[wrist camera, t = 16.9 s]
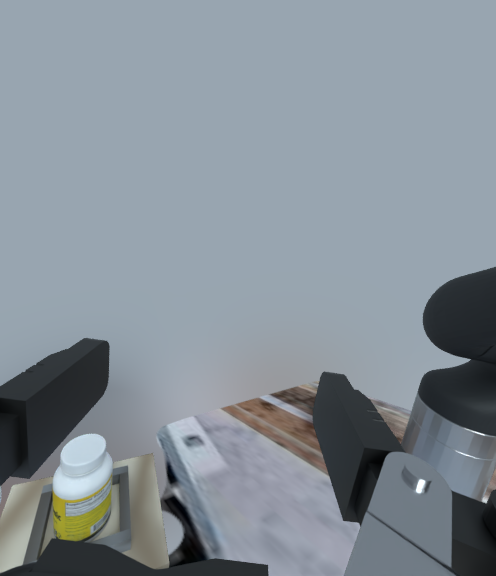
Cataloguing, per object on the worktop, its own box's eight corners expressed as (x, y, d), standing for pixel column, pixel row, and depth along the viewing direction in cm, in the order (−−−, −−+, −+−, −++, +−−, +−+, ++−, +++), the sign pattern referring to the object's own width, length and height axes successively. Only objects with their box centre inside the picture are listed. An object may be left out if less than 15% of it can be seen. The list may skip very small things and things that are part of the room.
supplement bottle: (59, 504, 31) (59, 432, 29) (112, 492, 33) (115, 424, 31) (46, 559, 26) (45, 477, 24) (109, 540, 28) (113, 463, 26)
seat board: (152, 459, 39) (153, 444, 39) (168, 571, 27) (170, 551, 27) (13, 493, 32) (11, 475, 32) (-50, 665, 20) (-54, 641, 20)
